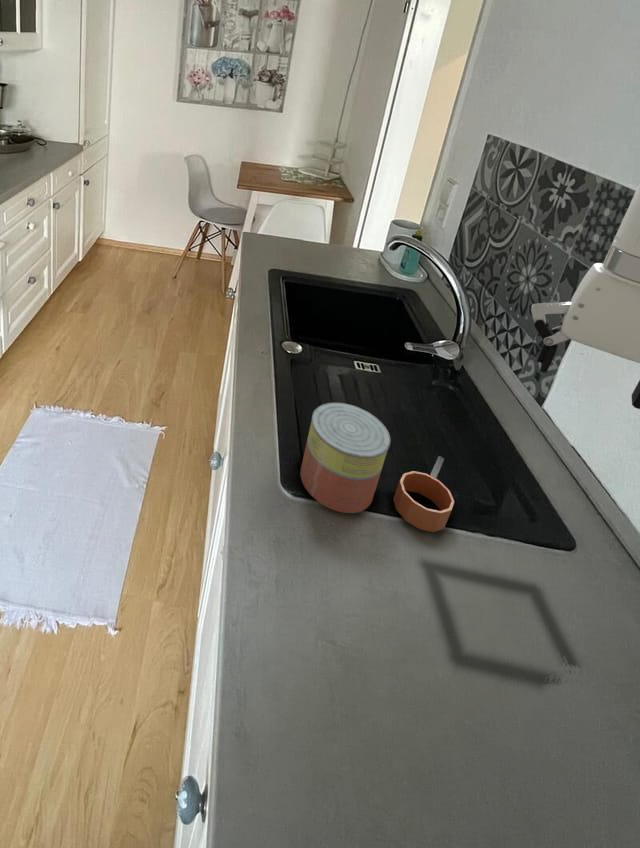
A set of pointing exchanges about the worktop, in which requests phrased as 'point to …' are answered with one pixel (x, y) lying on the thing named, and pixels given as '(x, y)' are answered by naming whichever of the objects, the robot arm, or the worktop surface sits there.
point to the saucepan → (429, 489)
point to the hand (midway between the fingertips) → (587, 384)
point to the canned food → (344, 456)
